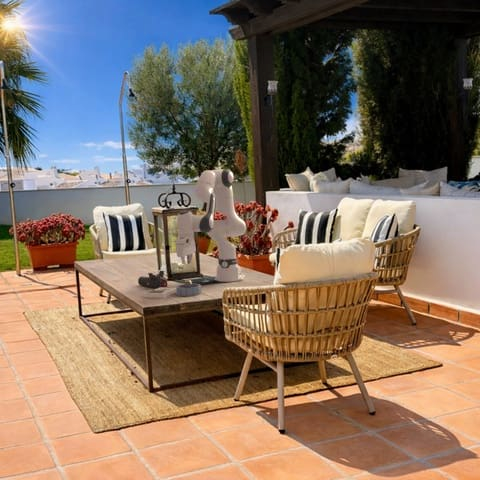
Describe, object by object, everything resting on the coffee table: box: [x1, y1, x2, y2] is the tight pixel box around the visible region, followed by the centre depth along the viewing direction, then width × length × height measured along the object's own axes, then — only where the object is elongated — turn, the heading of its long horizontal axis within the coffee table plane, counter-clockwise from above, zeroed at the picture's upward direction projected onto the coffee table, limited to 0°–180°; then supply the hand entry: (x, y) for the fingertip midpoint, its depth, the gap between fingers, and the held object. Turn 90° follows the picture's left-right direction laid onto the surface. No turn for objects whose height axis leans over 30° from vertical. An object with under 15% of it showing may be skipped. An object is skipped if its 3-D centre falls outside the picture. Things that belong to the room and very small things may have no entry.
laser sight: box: [137, 270, 168, 289], centre depth 389 cm, size 10×22×10 cm, turn 48°
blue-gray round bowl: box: [175, 283, 202, 297], centre depth 363 cm, size 14×14×5 cm
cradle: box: [143, 287, 176, 299], centre depth 366 cm, size 21×12×3 cm, turn 162°
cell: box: [184, 279, 193, 288], centre depth 363 cm, size 4×4×7 cm
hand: (187, 262), depth 361 cm, fingers open, 8 cm apart
